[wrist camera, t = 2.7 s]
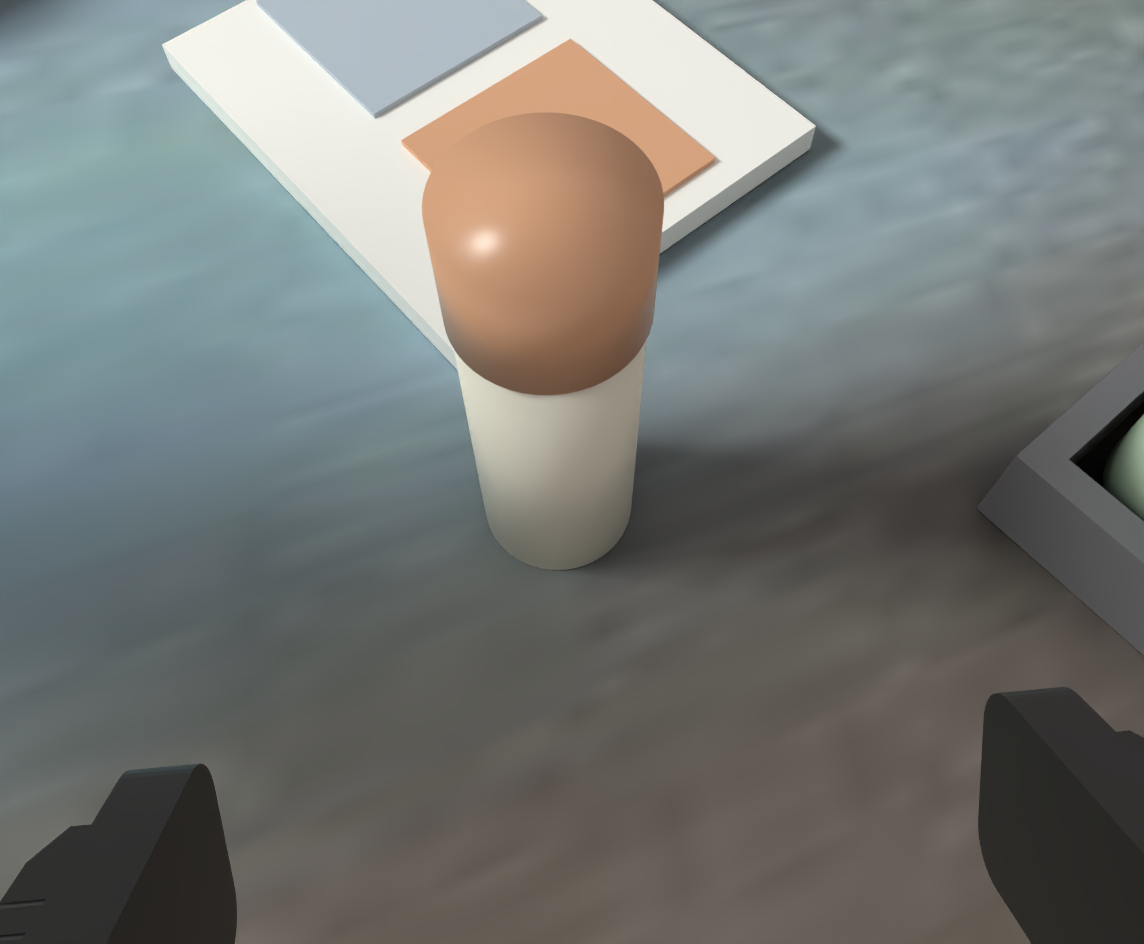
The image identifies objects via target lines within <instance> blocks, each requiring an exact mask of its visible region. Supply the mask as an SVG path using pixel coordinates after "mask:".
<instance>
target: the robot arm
mask: <svg viewBox="0 0 1144 944" xmlns="http://www.w3.org/2000/svg"><path fill="white" fill-rule="evenodd" d="M978 829H979V839H980V845H981V850H982V854H983V858H984V862H985V865H986V868H987V871H988V873H989V876H990V878H991V880H992V882H993V884H994V886H995V888H996V889H997V891H998V892H999V894H1000V895H1001V897H1002V899H1003V900H1004V902H1005V903H1006V905H1007V906H1008V908H1009V909H1010V911H1011V912H1012V914H1013V916H1014V917H1015V919H1016V920H1017V922H1018V923H1019V925H1020V926H1021V928H1022V930H1023V931H1024V933H1025V934H1026V936H1027V937H1028V939H1029V940H1030V942H1031V943H1032V944H1144V738H1143V737H1141V736H1139V735H1137V734H1135V733H1133V732H1131V731H1121V732H1115V731H1114V730H1113V729H1112V728H1111V727H1110V726H1109V725H1108V724H1107V723H1106V722H1105V721H1104V720H1103V719H1102V718H1101V717H1100V716H1099V715H1098V714H1097V713H1096V712H1095V711H1094V710H1093V709H1092V708H1091V707H1090V706H1089V705H1088V704H1087V703H1086V702H1085V701H1084V700H1083V699H1082V698H1081V697H1080V696H1079V695H1078V694H1077V693H1076V692H1074V691H1073V690H1072V689H1070V688H1066V687H1060V688H1049V689H1038V690H1027V691H1016V692H1005V693H996V694H993V695H991V696H990V698H989V699H988V701H987V703H986V707H985V711H984V723H983V742H982V760H981V779H980V797H979V816H978ZM236 925H237V904H236V893H235V887H234V882H233V877H232V872H231V867H230V862H229V857H228V852H227V847H226V842H225V837H224V832H223V827H222V822H221V817H220V812H219V807H218V802H217V797H216V792H215V787H214V783H213V779H212V776H211V773H210V771H209V769H208V768H207V767H206V766H205V765H204V764H192V765H181V766H170V767H160V768H149V769H138V770H129V771H126V772H125V773H124V774H123V775H122V776H121V777H120V779H119V780H118V782H117V783H116V785H115V787H114V788H113V790H112V792H111V793H110V795H109V797H108V798H107V800H106V802H105V803H104V805H103V806H102V808H101V810H100V811H99V813H98V815H97V816H96V818H95V820H94V821H93V823H92V825H81V826H71V827H69V828H68V829H67V830H66V831H64V832H63V833H62V834H61V835H60V836H58V837H57V838H56V839H55V840H53V841H52V842H51V843H50V844H49V845H47V846H46V847H45V848H44V849H42V850H41V851H40V852H39V853H38V854H36V855H35V856H34V857H33V858H32V859H30V860H29V861H28V862H27V863H26V864H25V865H24V867H23V868H22V870H21V871H20V873H19V874H18V876H17V877H16V879H15V880H14V882H13V883H12V885H11V886H10V888H9V889H8V891H7V892H6V894H5V895H4V897H3V898H2V900H1V901H0V944H235V937H236Z"/></svg>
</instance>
